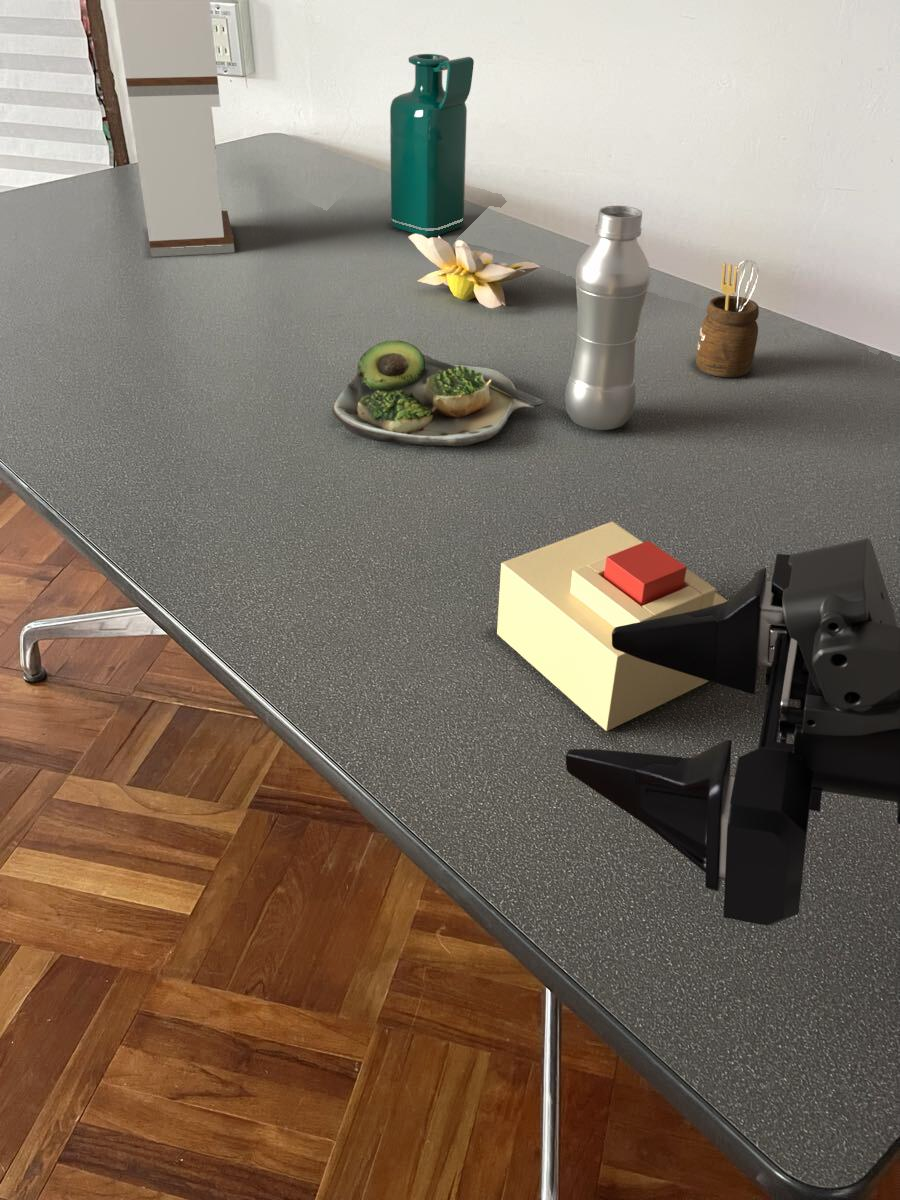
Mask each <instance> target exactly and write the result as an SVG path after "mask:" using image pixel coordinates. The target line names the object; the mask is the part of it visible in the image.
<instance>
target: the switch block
mask: <svg viewBox="0 0 900 1200" xmlns="http://www.w3.org/2000/svg"><path fill="white" fill-rule="evenodd" d="M641 543H643V541H642V540H640V539H639V538H637V537H636V536H635V535H633V534H632V533H630V532H629V531H628V530H626V529H624V528H623V527H622V526H620V525H619V524H617V523H615V522H614V521H609V522H607V523H605V524H601V525H599V526H597V527H596V526H595V527H594V528H591V529H588V530H586V531H583V532H580V533H577V534H575V535H572V536H570V537H567V538H564V539H562V540H561V539H560V540H558V541H556V542H553V543H550V544H548V545H546V546H542V547H539V548H538V549H535V550H531V551H530V552H526V553H524V554H521V555H519V556H516V557H513V558H510V559H507V560H505V561H502V562H501V563H500V576H499V577H500V579H499V595H498V609H497V610H498V611H497V613H498V614H497V626H496V627H497V629H496V634H497V636H498V637H500V638H501V639H502V640H503V641H504V642H505V643H506V644H507V645H509V646H510V647H511V648H512V649H513V650H514V651H515V652H516V653H517V654H519V655H520V656H521V657H522V658H523V659H524V660H525V661H527V662H528V663H529V664H530V665H531V666H532V667H533V668H535V670H537V672H539V673H540V674H541V675H543V676H544V677H545V679H547V680H548V681H549V682H550V683H551V684H552V685H554V686H555V687H556V688H557V689H558V690H559V691H561V693H563V694H564V696H566V697H567V698H568V699H569V700H570V701H572V702H573V703H574V704H575V705H576V706H577V707H579V709H581V710H582V711H583V712H584V713H585V714H586V715H587V716H588V717H590V718H591V719H592V720H593V721H594V722H595V723H596V724H598V725H599V727H601V728H602V729H603V730H604V731H606V732H608V731H611V730H613V729H614V728H616V727H618V726H620V725H623V724H625V723H627V722H630V721H631V720H633V719H635V718H637V717H639V716H641V715H644V714H645V713H647V712H650V711H651V710H653V709H655V708H657V707H660V706H661V705H663V704H666V703H668V702H670V701H672V700H674V699H676V698H678V697H680V696H683V695H684V694H686V693H688V692H691V691H692V690H694V689H696V688H698V687H700V686H703V685H704V684H706V683H708V682H710V681H708V680H705V679H702V678H698V677H695V676H692V675H689V674H686V673H682V672H679V671H676V670H673V669H670V668H667V667H663V666H660V665H657V664H654V663H651V662H647V661H644V660H641V659H639V658H636V657H634V656H631V655H629V654H626V653H624V652H621V651H619V650H616V649H615V648H613V646H612V632H613V629H614V628H615V627H618V626H623V625H628V624H633V623H638V622H642V621H647V620H652V619H657V618H662V617H667V616H672V615H676V614H681V613H682V614H683V613H686V612H691V611H695V610H699V609H703V608H707V607H710V606H714V605H718V604H721V603H724V602H726V601H728V600H727V599H726V598H725V597H723V596H722V595H720V594H719V593H718V592H717V588H716V587H714V586H713V585H712V584H710V583H709V582H707V581H706V580H704V579H702V578H701V576H698V575H696V574H695V573H694V572H692V571H691V570H689V569H688V568H687V569H686V575H685V580H684V585H683V589H681V590H679V591H676V592H674V593H672V594H669V595H667V596H665V597H662V598H660V599H657V600H655V601H653V602H650V603H648V604H646V605H643V606H640V605H639V604H638V603H636V602H635V601H634V600H632V599H631V598H630V597H628V596H627V595H626V594H624V593H623V592H622V591H620V590H619V589H618V588H616V587H615V586H614V585H612V584H611V583H610V582H608V581H607V580H606V579H604V572H605V564H606V557H608V556H610V555H613V554H615V553H618V552H620V551H623V550H625V549H628V548H631V547H633V546H636V545H638V544H641Z"/></svg>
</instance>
